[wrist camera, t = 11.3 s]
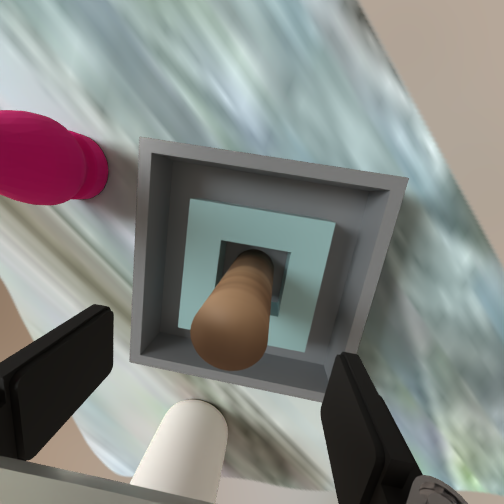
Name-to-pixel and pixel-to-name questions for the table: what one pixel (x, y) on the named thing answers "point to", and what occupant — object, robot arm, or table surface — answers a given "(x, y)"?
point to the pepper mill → (47, 161)
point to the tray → (264, 239)
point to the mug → (186, 452)
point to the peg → (236, 314)
